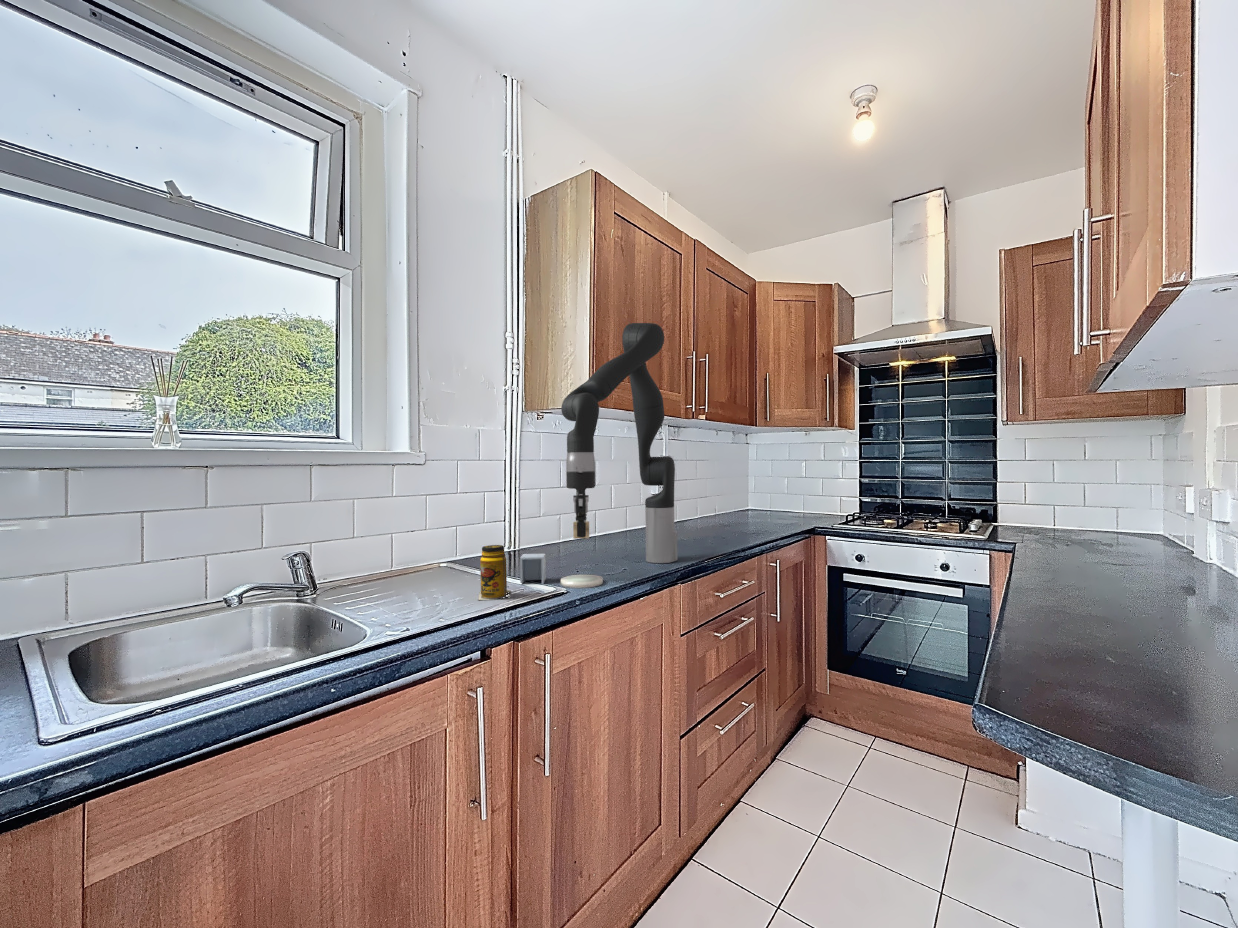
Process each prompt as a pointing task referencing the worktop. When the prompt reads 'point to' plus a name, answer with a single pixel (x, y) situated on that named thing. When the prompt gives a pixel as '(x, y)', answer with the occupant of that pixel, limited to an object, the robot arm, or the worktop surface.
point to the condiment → (493, 573)
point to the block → (576, 530)
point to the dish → (581, 581)
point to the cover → (532, 567)
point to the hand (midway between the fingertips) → (581, 535)
